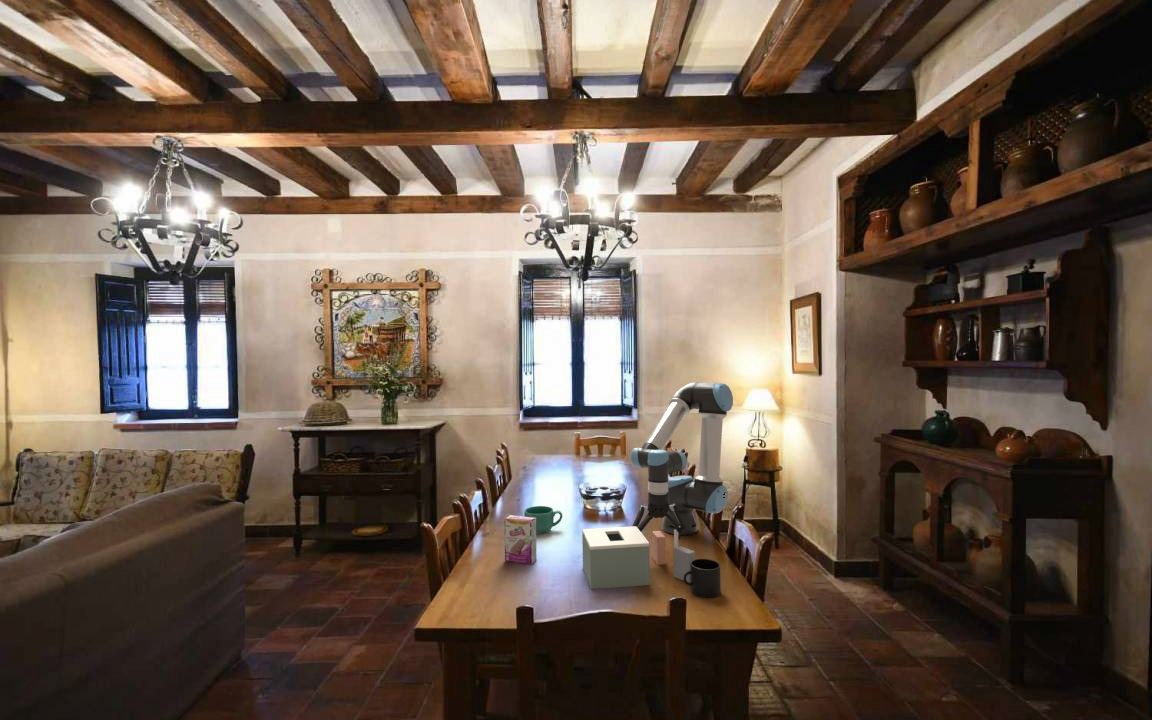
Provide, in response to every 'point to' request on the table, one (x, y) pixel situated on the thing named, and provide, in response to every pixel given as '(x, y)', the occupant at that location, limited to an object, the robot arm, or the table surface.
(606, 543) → the pale green white box
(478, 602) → the table surface
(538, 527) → the mug
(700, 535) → the table surface
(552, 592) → the table surface
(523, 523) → the candy bar box
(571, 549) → the table surface
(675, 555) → the grey rectangular block
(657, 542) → the pink rectangular block
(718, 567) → the mug
